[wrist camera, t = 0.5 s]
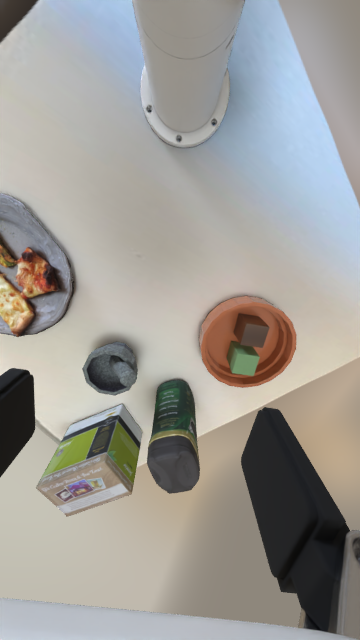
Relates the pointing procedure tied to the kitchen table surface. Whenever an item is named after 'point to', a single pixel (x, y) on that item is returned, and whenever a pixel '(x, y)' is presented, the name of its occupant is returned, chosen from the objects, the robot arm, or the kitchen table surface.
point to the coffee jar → (174, 439)
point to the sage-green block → (242, 359)
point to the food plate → (30, 273)
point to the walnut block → (251, 330)
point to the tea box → (93, 462)
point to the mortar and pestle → (111, 369)
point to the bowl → (272, 355)
